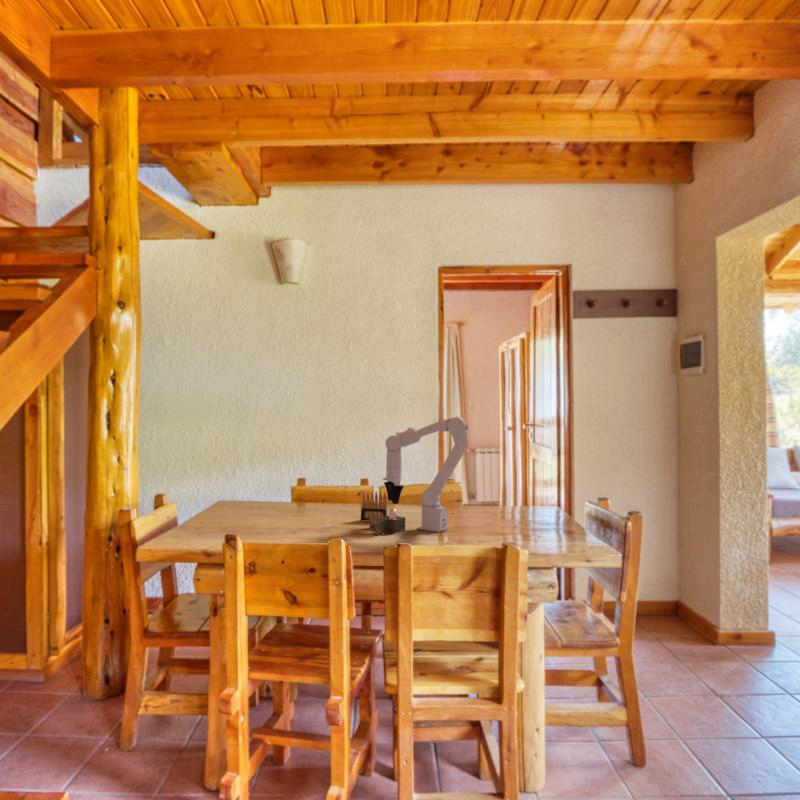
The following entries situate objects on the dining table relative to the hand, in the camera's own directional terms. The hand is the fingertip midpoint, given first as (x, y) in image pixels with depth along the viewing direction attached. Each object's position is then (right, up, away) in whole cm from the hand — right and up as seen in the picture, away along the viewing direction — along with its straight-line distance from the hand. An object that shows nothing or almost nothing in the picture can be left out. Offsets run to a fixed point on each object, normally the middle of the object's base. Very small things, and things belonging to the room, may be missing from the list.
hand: (393, 502), depth 233 cm
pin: (0, -9, -8) cm, 12 cm away
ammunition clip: (-8, -10, +10) cm, 16 cm away
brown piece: (-5, -9, -9) cm, 14 cm away
